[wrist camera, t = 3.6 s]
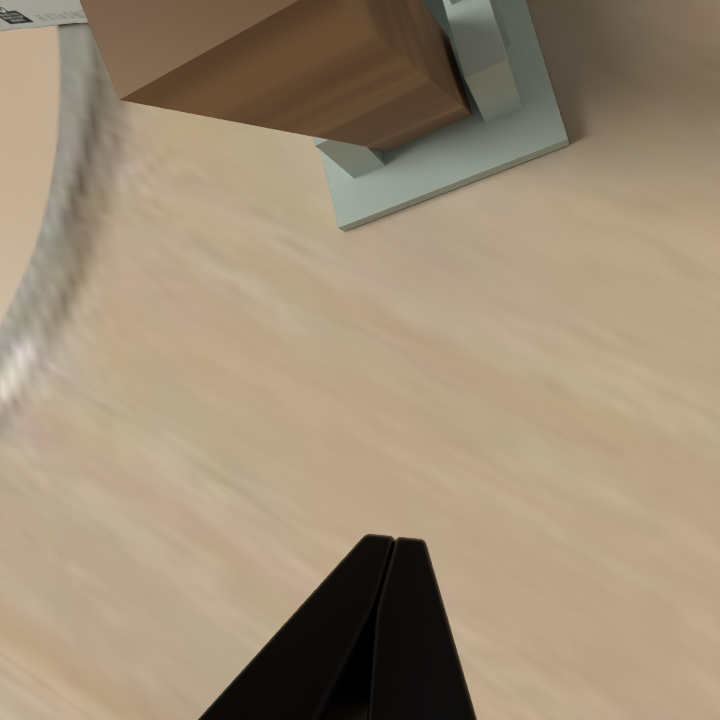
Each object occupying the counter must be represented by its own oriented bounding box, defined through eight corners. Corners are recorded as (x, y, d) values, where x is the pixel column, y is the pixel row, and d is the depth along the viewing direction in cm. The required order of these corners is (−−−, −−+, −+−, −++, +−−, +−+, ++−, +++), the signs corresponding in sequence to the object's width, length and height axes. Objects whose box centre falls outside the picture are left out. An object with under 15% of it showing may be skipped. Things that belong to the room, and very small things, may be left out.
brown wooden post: (472, 114, 20) (320, -11, 7) (388, 150, 21) (119, 99, 8) (448, 36, 19) (237, -253, 6) (363, 77, 20) (38, -102, 8)
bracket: (569, 145, 19) (548, 41, 14) (344, 231, 22) (252, 174, 17) (485, -133, 21) (436, -324, 15) (286, -19, 24) (186, -146, 18)
